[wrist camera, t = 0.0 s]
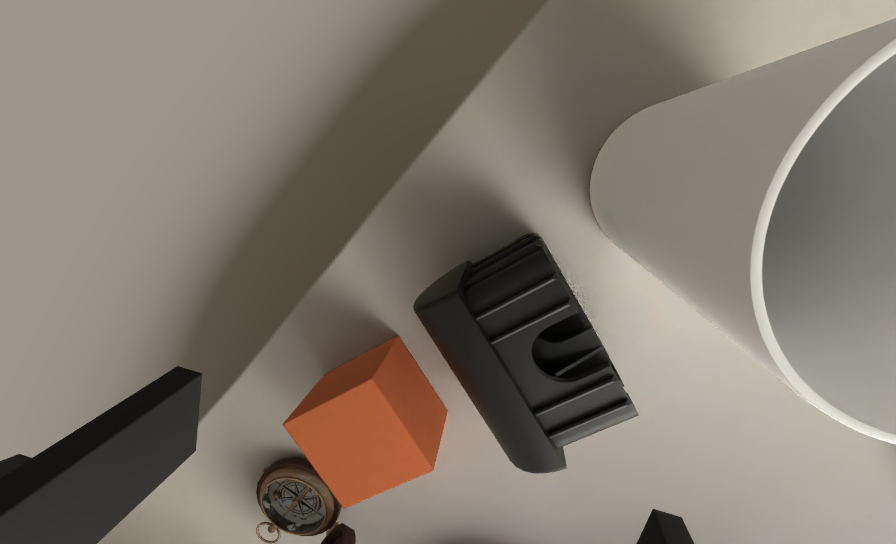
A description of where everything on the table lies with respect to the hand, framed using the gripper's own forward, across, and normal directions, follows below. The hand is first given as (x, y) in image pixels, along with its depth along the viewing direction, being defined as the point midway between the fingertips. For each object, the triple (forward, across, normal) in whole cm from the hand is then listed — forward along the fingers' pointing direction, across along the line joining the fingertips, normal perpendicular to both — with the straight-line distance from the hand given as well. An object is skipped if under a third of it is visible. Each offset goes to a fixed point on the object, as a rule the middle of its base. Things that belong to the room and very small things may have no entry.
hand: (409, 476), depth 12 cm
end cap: (+14, +4, 0) cm, 15 cm away
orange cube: (+14, -3, -7) cm, 16 cm away
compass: (+14, -7, -18) cm, 24 cm away
